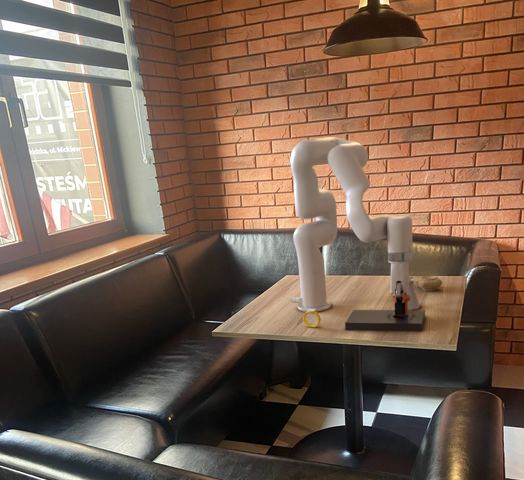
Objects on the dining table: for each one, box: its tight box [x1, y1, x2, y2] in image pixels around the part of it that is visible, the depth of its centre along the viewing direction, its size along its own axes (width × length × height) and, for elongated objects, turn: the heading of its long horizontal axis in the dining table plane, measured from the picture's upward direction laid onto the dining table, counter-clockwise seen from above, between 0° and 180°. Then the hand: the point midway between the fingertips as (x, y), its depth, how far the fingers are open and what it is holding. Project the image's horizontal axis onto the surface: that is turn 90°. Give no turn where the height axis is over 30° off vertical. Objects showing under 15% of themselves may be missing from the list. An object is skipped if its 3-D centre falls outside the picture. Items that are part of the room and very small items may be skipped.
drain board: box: [344, 309, 426, 332], centre depth 177 cm, size 24×14×2 cm, turn 70°
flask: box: [407, 279, 421, 310], centre depth 189 cm, size 7×7×10 cm
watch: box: [302, 309, 322, 328], centre depth 181 cm, size 6×3×6 cm, turn 57°
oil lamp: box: [409, 275, 443, 292], centre depth 210 cm, size 11×14×5 cm
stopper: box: [391, 294, 410, 315], centre depth 173 cm, size 6×6×6 cm
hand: (401, 311), depth 174 cm, fingers closed on stopper, 5 cm apart
